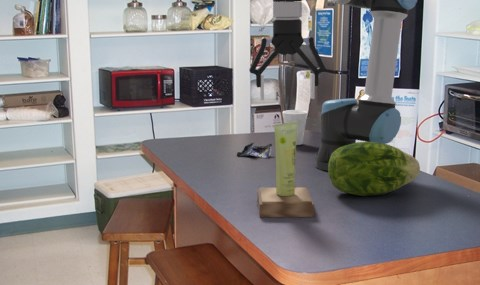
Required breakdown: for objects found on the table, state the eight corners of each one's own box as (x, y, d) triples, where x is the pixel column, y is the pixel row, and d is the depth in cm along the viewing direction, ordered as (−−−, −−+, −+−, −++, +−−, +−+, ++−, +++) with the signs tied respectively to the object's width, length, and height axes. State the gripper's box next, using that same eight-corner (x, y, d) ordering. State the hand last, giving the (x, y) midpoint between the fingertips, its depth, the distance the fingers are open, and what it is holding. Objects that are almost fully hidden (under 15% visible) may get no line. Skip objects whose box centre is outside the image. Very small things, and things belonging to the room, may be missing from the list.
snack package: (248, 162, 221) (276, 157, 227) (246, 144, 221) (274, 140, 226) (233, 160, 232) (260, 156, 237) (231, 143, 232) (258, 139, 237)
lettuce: (427, 200, 176) (431, 146, 173) (335, 203, 173) (337, 149, 170) (407, 185, 191) (410, 135, 187) (322, 188, 188) (323, 137, 184)
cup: (308, 147, 243) (309, 113, 240) (282, 147, 243) (283, 113, 241) (306, 141, 253) (306, 109, 250) (281, 141, 253) (281, 109, 250)
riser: (307, 200, 176) (307, 186, 175) (313, 216, 162) (314, 202, 161) (257, 200, 175) (257, 187, 175) (259, 217, 162) (259, 202, 161)
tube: (292, 198, 164) (293, 125, 160) (273, 196, 166) (274, 124, 162) (296, 192, 170) (297, 121, 166) (278, 190, 171) (279, 120, 167)
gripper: (331, 17, 168) (330, 95, 173) (239, 19, 167) (240, 97, 172) (337, 18, 161) (335, 99, 166) (240, 20, 160) (241, 102, 165)
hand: (287, 98), depth 169 cm, fingers open, 13 cm apart
